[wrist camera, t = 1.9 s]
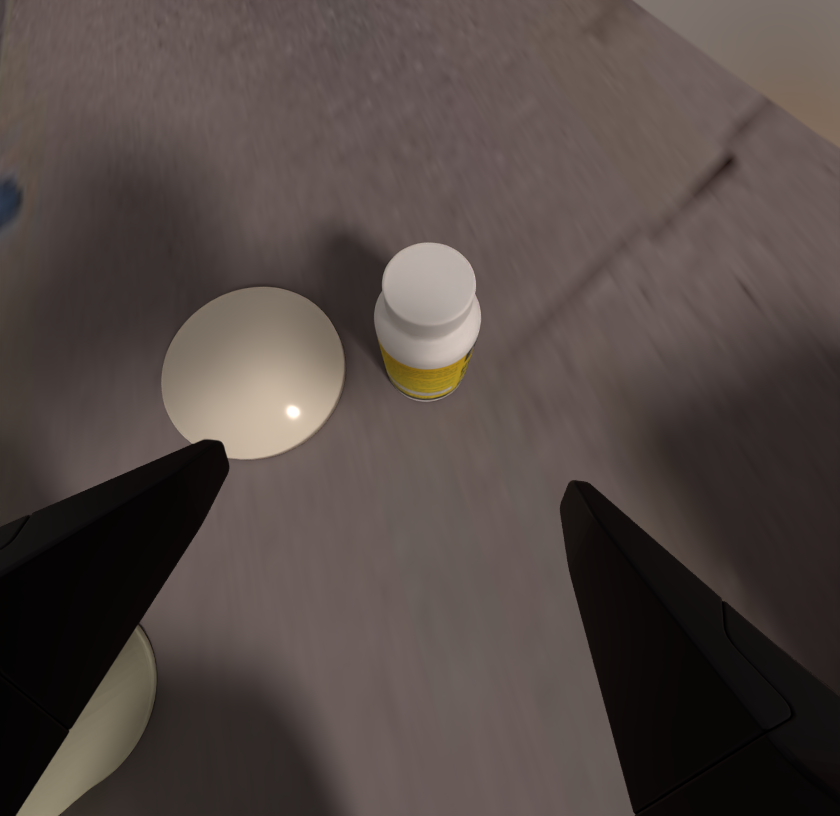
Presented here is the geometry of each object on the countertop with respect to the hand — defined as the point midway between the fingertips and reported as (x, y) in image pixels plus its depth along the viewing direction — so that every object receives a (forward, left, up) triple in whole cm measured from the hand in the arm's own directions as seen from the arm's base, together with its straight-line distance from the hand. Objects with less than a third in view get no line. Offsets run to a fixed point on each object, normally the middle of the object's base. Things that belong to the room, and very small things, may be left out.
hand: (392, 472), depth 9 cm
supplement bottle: (+4, -7, -14) cm, 16 cm away
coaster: (+13, +1, -14) cm, 19 cm away
